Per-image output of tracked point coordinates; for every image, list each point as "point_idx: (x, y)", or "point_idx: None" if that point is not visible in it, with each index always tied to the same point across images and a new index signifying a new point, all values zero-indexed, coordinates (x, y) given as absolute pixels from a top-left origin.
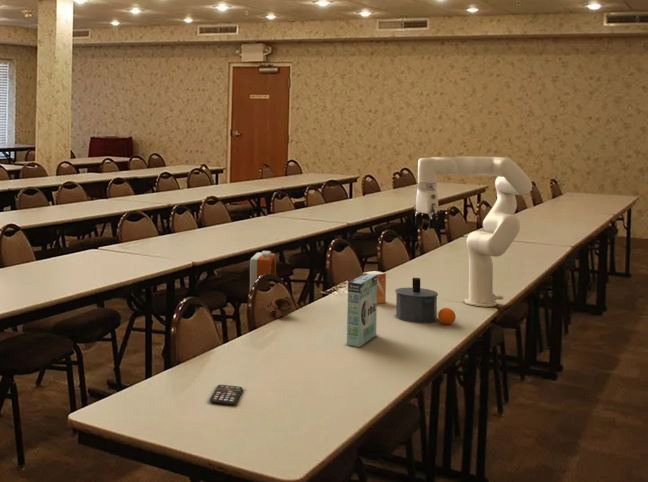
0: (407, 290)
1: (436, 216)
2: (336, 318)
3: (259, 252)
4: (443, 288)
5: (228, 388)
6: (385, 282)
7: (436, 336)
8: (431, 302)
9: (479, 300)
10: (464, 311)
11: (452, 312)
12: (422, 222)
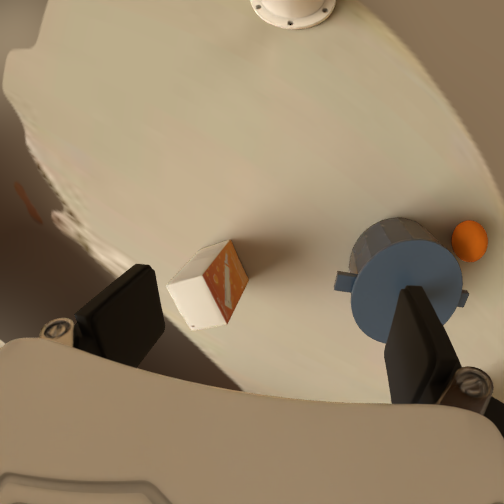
0: (386, 310)
1: (501, 421)
2: (334, 392)
3: None
4: (115, 16)
5: None
6: (213, 263)
7: (499, 309)
8: (467, 292)
9: (318, 6)
10: (372, 91)
11: (487, 242)
12: (138, 282)
